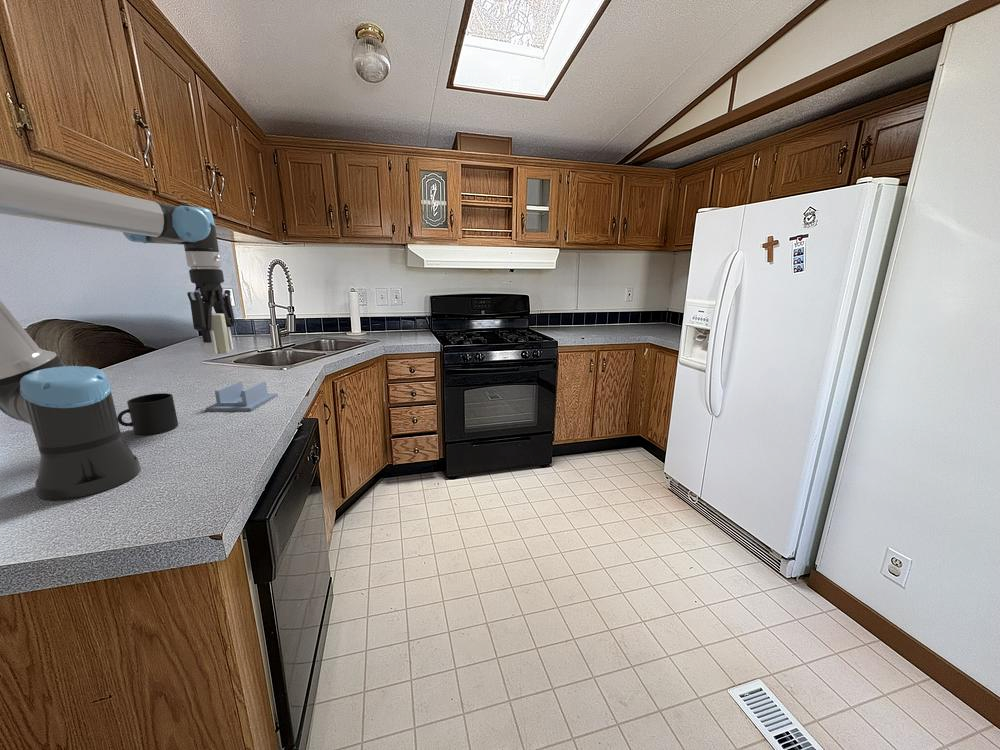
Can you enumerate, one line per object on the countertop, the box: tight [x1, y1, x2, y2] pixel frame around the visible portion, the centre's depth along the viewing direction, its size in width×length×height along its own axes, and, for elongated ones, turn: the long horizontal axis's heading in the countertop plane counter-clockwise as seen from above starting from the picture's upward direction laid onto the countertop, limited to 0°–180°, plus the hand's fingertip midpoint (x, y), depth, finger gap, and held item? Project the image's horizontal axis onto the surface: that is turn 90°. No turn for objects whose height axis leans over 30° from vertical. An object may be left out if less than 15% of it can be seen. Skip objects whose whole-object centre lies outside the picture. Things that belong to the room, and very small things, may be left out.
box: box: [211, 312, 231, 355], centre depth 114 cm, size 5×4×11 cm
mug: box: [117, 392, 179, 436], centre depth 109 cm, size 9×12×9 cm
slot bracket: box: [205, 380, 279, 412], centre depth 133 cm, size 16×14×6 cm
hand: (220, 351), depth 115 cm, fingers closed on box, 6 cm apart
